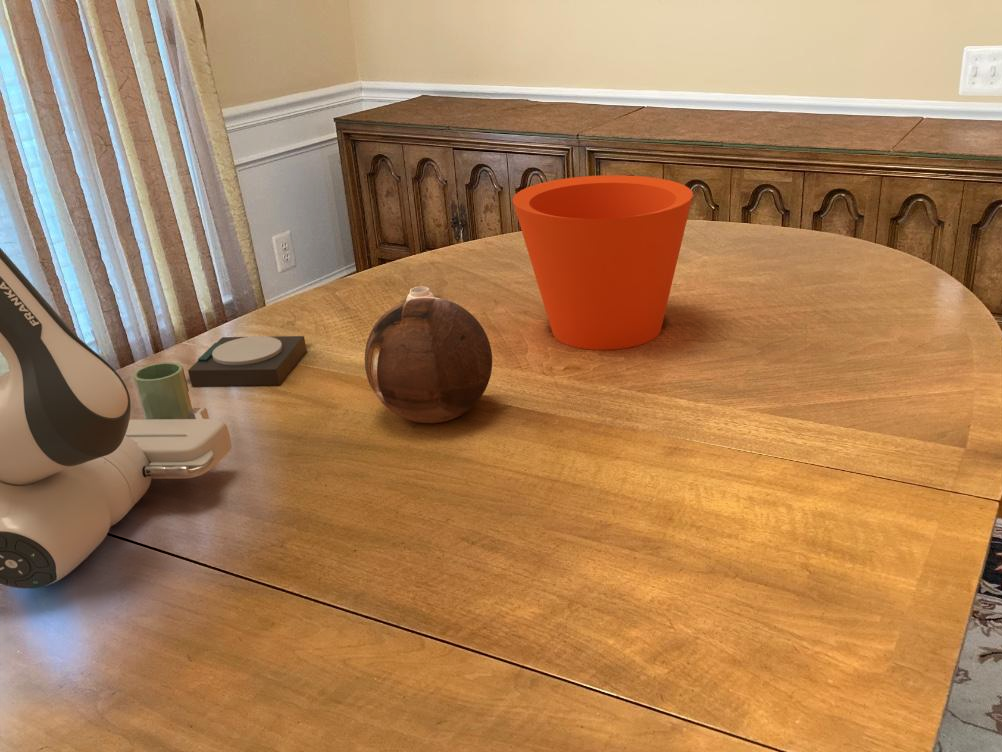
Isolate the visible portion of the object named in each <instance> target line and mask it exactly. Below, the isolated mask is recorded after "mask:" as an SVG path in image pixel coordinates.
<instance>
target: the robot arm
mask: <svg viewBox="0 0 1002 752" xmlns="http://www.w3.org/2000/svg"><path fill="white" fill-rule="evenodd" d="M0 353H1V355H2V356H3V357H4V358H5V360H6V362H7V365H8V372H7V371H6V372H5V373H3V374H1V375H0V585H3V586H6V587H9V588H10V587H11V588H15V589H27V590H28V589H38V588H42V587H46V586H49V585H53V584H54V583H56V582H58V581H60V580H62V579H63V578H65V577H66V576H68V575H69V574H70V573H71V572H73V571H74V570H75V569H76V568H77V567H78V566H79V565H81V564H82V563H83V562H84V561H85V560H86V559H87V558H88V557H89V556H90V555H91V554H92V553H93V552H94V551H95V550H96V549H97V548H98V546H100V545H101V543H103V541H105V538H106V537H107V535H108V533H109V531H110V528H112V527H113V526H115V525H116V524H118V523H119V522H120V521H122V520H123V518H125V517H126V515H127V514H128V513H129V512H130V511H131V509H133V507H134V506H135V505H136V504H137V503H138V502H139V501H140V500H141V498H142V497H143V496H145V494H146V493H147V491H148V490H149V488H150V485H151V482H152V479H154V480H155V479H156V480H157V479H163V480H164V479H165V480H167V479H169V480H171V479H193V478H198V477H200V476H203V475H204V474H206V473H208V472H209V471H210V470H211V469H213V468H214V467H215V466H217V465H218V464H219V463H220V462H221V461H222V460H223V459H224V458H225V457H226V456H227V455H228V454H229V452H231V449H232V441H231V440H232V439H231V435H230V432H229V428H228V425H227V424H226V423H225V421H224V420H222V419H220V418H210V417H209V413H208V408H207V407H193V408H192V409H191V411H189V412H188V413H187V415H188V419H145V418H143V419H142V418H141V419H137V418H136V419H130V418H131V411H132V410H131V408H132V406H131V397H130V393H129V390H128V388H127V385H126V383H125V382H124V380H123V379H122V377H121V376H120V374H119V373H118V372H117V370H115V369H114V368H113V366H112V365H110V364H109V362H108V361H106V360H105V359H104V358H103V357H102V356H100V355H99V354H98V353H97V352H96V351H95V350H93V348H91V347H90V346H89V345H88V344H87V343H85V342H84V341H83V340H82V339H81V338H80V337H79V336H78V335H77V334H76V333H75V332H74V331H73V330H72V329H71V328H70V327H69V325H67V323H66V322H65V320H63V319H62V317H61V316H60V315H59V314H58V312H56V311H55V309H53V307H52V305H50V304H49V303H48V301H47V300H46V299H45V298H44V297H43V296H42V294H41V293H40V292H39V291H38V290H37V288H35V287H34V285H33V284H32V283H31V282H30V280H29V279H28V278H27V277H26V276H25V275H24V273H23V272H22V271H21V270H20V269H19V267H17V265H16V264H15V263H14V261H12V259H11V258H10V257H9V256H8V255H7V254H6V253H5V251H4V250H3V249H2V248H1V247H0Z"/></svg>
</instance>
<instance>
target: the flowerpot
mask: <svg viewBox="0 0 1002 752" xmlns="http://www.w3.org/2000/svg"><path fill="white" fill-rule="evenodd" d="M693 194H694V192H693V190H691V188H689V186H686V185H685V184H683V183H680V182H676V181H674V180H669V179H665V178H659V177H654V176H653V177H652V176H643V175H626V174H625V175H623V174H621V175H620V174H618V175H617V174H606V175H605V174H603V175H584V176H575V177H566V178H559V179H553V180H549V181H545V182H540V183H537V184H534V185H530V186H528V187H525V188H523V189H521V190H519V191H518V192H516V193H515V194H514V195H513V197H512V204H513V207H514V210H515V214H516V217H517V220H518V223H519V224H518V225H519V226H520V230H521V233H522V237H523V240H524V243H525V247H526V250H527V252H528V256H529V259H530V260H529V261H530V263H531V266H532V269H533V273H534V276H535V280H536V283H537V286H538V288H539V292H540V296H541V300H542V303H543V306H544V309H545V312H546V315H547V320H548V322H549V327H550V329H551V332H552V335H553V337H554V338H555V339H556V340H557V341H558V342H560V343H562V344H564V345H566V346H570V347H573V348H577V349H582V350H583V349H584V350H592V351H613V350H623V349H629V348H634V347H636V346H638V347H639V346H641V345H644V344H647V343H649V342H650V341H653V340H654V339H656V338H657V337H658V336H659V335H660V333H661V332H662V327H663V322H664V319H665V314H666V311H667V306H668V301H669V299H670V298H669V297H670V293H671V289H672V285H673V281H674V276H675V272H676V268H677V264H678V260H679V254H680V251H681V247H682V243H683V238H684V235H685V230H686V226H687V221H688V217H689V213H690V209H691V205H692V201H693V197H694V195H693Z"/></svg>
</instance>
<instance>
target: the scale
mask: <svg viewBox="0 0 1002 752" xmlns="http://www.w3.org/2000/svg"><path fill="white" fill-rule="evenodd" d="M307 351H308V350H307V345H306V339H305V336H304V335H284V336H283V335H282V336H274V335H273V336H265V335H264V336H262V335H257V336H255V335H254V336H222V337H220V339H218V341H216V342H215V343H213V344H212V345H211V346H210V347H209V348H208V349H207V350H206V351H205V352H204V353H203V354H202V355H201V356H200V357H199V358H197V361H196V362H195V363H194V364H193V365H192V366H191V367H189V369H188V370H187V372H188V377H189V380H190V384H191V387H254V386H255V387H260V386H261V387H265V386H266V387H267V386H269V387H271V386H280V385H281V384H282V383H283V381H284V380H285V379H286V378H287V377H288V375H290V373H291V372H292V370H293V369H295V367H296V365H298V363H299V362H300V360H302V359H303V357H304V356H305V354H306V353H307Z"/></svg>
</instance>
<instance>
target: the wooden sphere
mask: <svg viewBox="0 0 1002 752" xmlns="http://www.w3.org/2000/svg"><path fill="white" fill-rule="evenodd" d="M364 368H365V369H364V370H365V374H366V379H367V381H368V384H369V386H370V388H371V390H372V391H373V393H374V395H375V396H376V397H377V399H378V400H379V401H380V403H381V404H383V406H384V407H386V408H387V409H388V410H389V411H391V412H392V413H394V414H395V415H396V416H399V417H400V418H402V419H405V420H408V421H411V422H414V423H420V424H438V423H444V422H448V421H451V420H454V419H456V418H459V417H460V416H462V415H464V414H465V413H466V412H468V411H470V410H471V409H472V408H473V407H474V406H475V405H476V404H477V403H478V402H479V401H480V399H481V398H482V397H483V395H484V393H485V391H486V389H487V387H488V385H489V383H490V380H491V377H492V372H493V371H492V370H493V351H492V346H491V343H490V340H489V337H488V335H487V333H486V331H485V329H484V327H483V326H482V325H481V323H480V322H479V321H478V319H477V318H476V317H475V316H474V315H473V314H472V313H471V312H469V311H468V310H467V309H466V308H464V307H463V306H461V305H459V304H457V303H455V302H453V301H451V300H448V299H444V298H440V297H436V296H434V297H420V298H414V299H410V300H407V301H406V300H404V301H402V302H399V303H398V304H396V305H394V306H393V307H391V308H390V309H388V310H387V311H386V312H384V313H383V314H382V315H381V316H380V318H379V319H378V320H377V321H376V323H375V324H374V326H373V327H372V329H371V331H370V333H369V335H368V338H367V341H366V344H365V350H364Z"/></svg>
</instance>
